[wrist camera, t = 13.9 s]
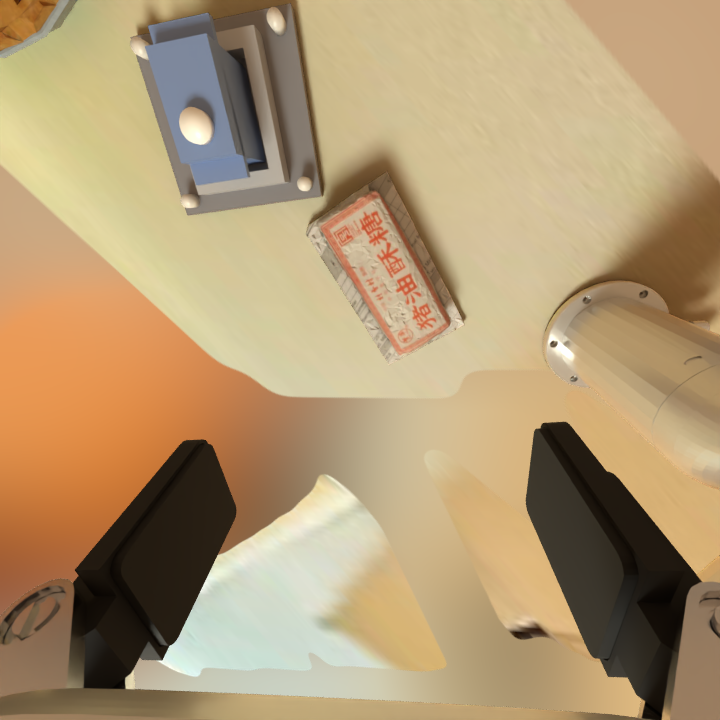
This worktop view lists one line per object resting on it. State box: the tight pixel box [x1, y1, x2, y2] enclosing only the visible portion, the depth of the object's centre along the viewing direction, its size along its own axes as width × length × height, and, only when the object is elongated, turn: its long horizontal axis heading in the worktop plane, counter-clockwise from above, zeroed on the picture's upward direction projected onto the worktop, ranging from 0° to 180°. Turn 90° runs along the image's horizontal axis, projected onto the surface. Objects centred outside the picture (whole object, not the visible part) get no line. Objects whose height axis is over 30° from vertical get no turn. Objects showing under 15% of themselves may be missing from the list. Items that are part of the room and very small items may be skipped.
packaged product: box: [306, 172, 465, 365], centre depth 35 cm, size 18×5×10 cm
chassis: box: [130, 3, 323, 215], centre depth 30 cm, size 14×14×3 cm
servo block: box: [145, 13, 266, 186], centre depth 27 cm, size 4×10×8 cm, turn 7°
